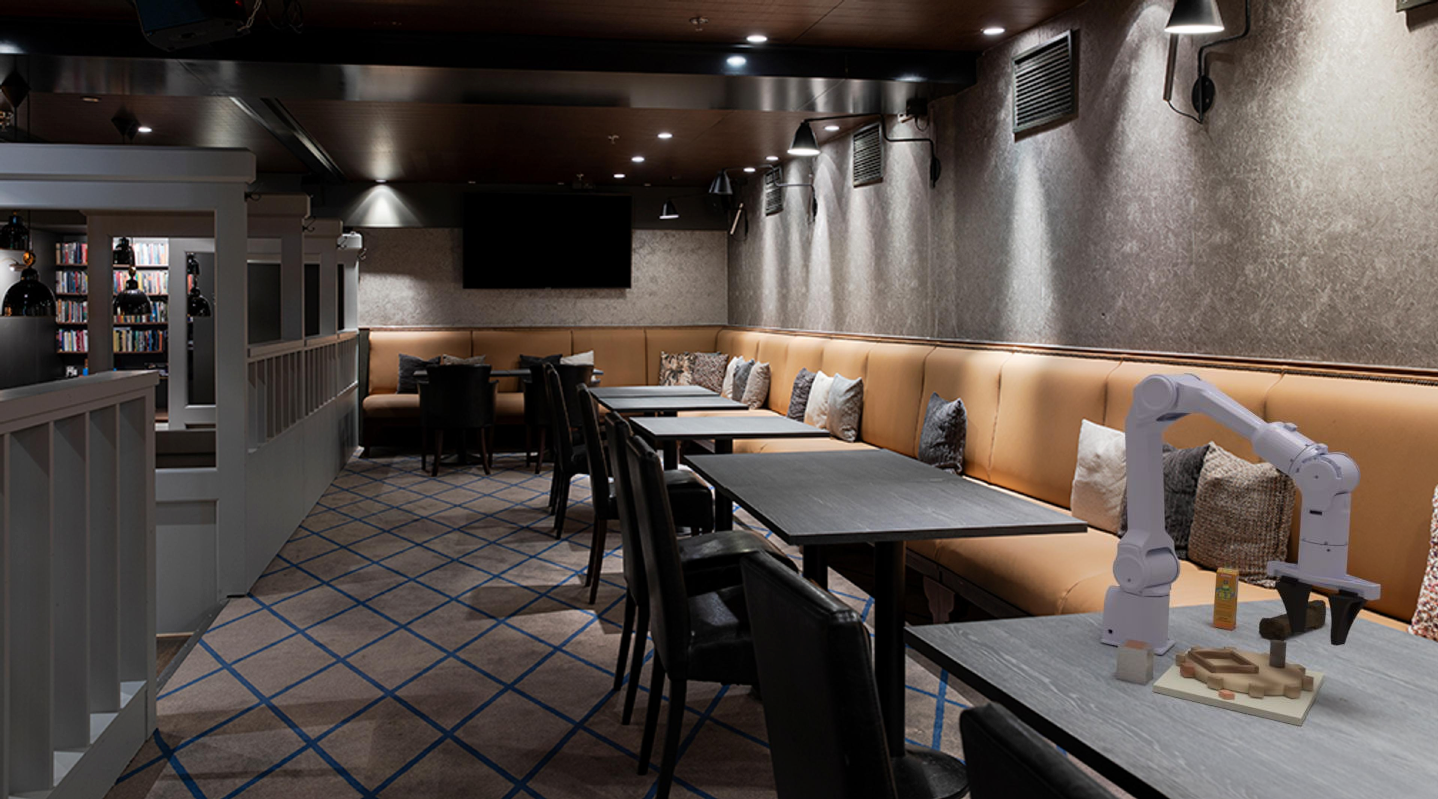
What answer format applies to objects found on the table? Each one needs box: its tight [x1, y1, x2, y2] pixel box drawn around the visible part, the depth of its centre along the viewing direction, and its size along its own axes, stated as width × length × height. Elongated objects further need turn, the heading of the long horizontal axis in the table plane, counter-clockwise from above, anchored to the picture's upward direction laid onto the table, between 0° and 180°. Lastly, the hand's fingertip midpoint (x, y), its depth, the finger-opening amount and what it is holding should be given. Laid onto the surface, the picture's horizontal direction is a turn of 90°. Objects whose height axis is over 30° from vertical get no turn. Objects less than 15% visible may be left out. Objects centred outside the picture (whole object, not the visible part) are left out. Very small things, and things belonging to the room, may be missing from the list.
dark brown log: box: [1258, 599, 1327, 641], centre depth 165 cm, size 19×4×5 cm, turn 122°
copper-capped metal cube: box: [1115, 639, 1155, 686], centre depth 141 cm, size 4×4×5 cm
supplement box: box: [1212, 567, 1240, 631], centre depth 167 cm, size 3×3×10 cm
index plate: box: [1152, 646, 1326, 727], centre depth 139 cm, size 18×22×2 cm
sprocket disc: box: [1174, 640, 1314, 698], centre depth 140 cm, size 17×17×5 cm
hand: (1317, 638), depth 135 cm, fingers open, 5 cm apart
